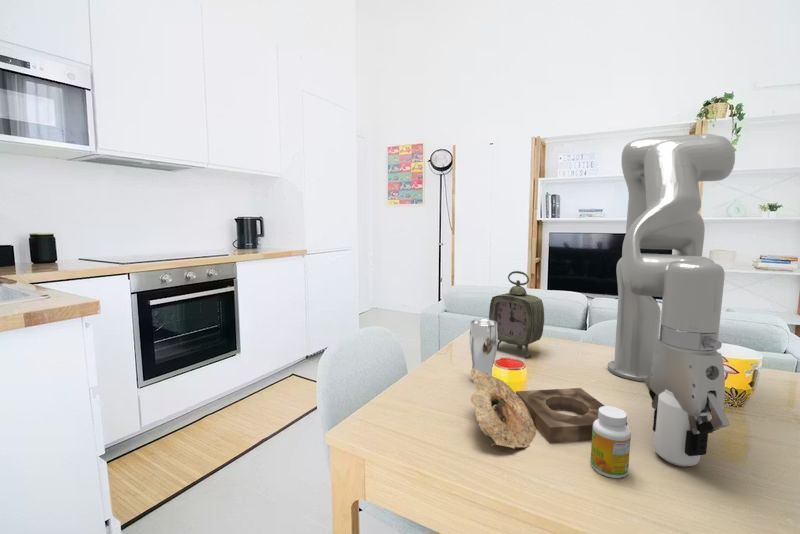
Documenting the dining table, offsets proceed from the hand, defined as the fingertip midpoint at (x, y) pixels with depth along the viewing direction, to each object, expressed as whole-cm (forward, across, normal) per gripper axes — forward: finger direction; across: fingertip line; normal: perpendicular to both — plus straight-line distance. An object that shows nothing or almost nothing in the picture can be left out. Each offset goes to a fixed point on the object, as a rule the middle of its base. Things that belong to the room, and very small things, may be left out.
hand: (678, 441), depth 64 cm
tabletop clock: (+4, +56, +4) cm, 56 cm away
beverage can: (+3, 0, 0) cm, 3 cm away
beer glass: (+4, +36, +22) cm, 42 cm away
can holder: (+3, +15, +11) cm, 19 cm away
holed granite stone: (+4, +13, +25) cm, 29 cm away
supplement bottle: (+4, -1, +13) cm, 13 cm away
